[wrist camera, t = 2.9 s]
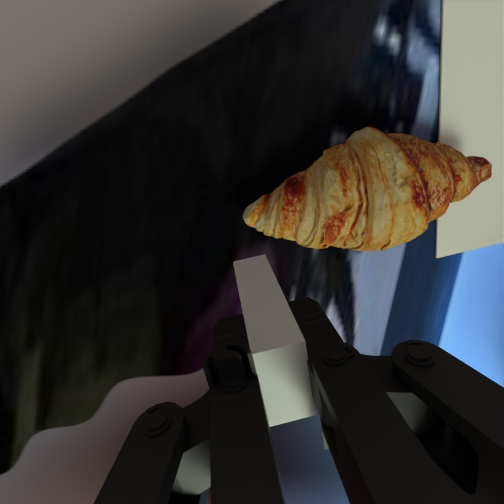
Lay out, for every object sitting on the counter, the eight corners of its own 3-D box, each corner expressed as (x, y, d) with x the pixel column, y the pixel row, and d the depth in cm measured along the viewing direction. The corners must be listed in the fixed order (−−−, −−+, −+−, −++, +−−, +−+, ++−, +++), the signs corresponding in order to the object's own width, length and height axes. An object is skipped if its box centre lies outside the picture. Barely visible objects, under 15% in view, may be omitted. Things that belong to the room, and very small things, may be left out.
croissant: (245, 232, 33) (260, 297, 28) (226, 145, 25) (241, 212, 20) (445, 187, 33) (497, 242, 28) (486, 87, 25) (568, 138, 20)
